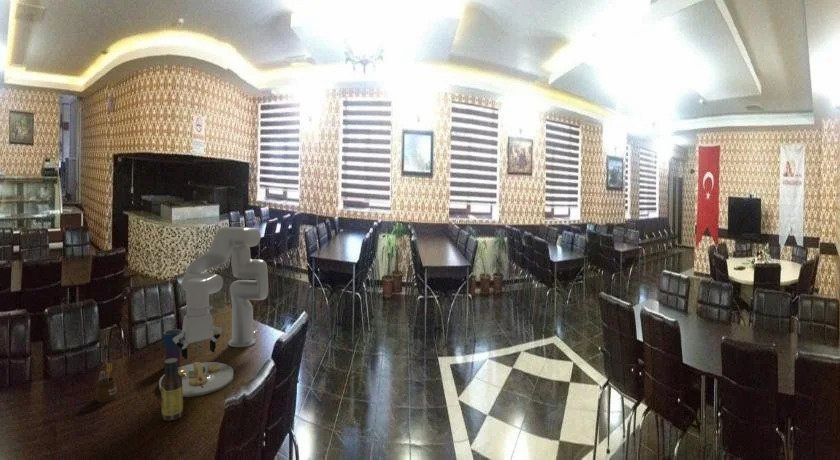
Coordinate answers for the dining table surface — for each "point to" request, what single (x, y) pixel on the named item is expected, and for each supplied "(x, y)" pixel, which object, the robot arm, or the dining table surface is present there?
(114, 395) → the utensil holder
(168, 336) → the cup
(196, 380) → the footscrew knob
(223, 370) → the white round plate
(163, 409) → the sauce bottle
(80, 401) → the dining table surface
